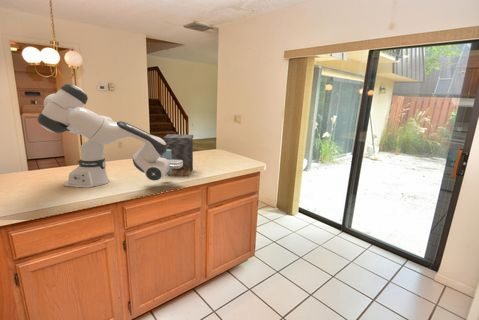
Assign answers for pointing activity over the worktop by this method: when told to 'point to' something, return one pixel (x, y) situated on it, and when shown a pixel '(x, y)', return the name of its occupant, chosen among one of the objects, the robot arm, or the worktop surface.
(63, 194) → the worktop surface
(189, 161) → the dark grey upright block
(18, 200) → the worktop surface
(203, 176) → the worktop surface
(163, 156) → the peg
